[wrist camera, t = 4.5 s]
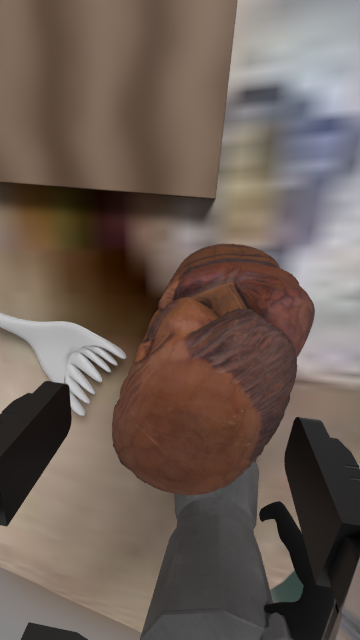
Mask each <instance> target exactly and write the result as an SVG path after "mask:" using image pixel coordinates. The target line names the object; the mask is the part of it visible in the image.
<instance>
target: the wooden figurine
mask: <svg viewBox="0 0 360 640" xmlns="http://www.w3.org/2000/svg"><path fill="white" fill-rule="evenodd" d="M158 307H159V309H158V310H157V311H156V312H155V314H154V316H153V317H152V319H151V322H150V324H149V326H148V330H147V332H146V335H145V337H144V340H143V342H142V343H141V344H140V346H139V347H138V350H137V353H136V357H135V361H134V364H133V365H132V367H131V369H130V371H129V374H128V376H127V378H126V379H125V380H124V382H123V384H122V387H121V391H120V399H119V400H118V402H117V404H116V405H115V407H114V413H113V423H112V437H113V446H114V448H115V451H116V453H117V455H118V457H119V460H120V462H121V464H123V465H124V466H125V467H127V468H128V469H129V470H131V471H132V472H133V473H134V474H135V475H136V477H137V478H138V479H140V480H142V481H143V482H145V483H148V484H149V485H151V486H153V487H155V488H157V489H160V490H162V491H166V492H171V493H175V494H179V495H200V494H207V493H210V492H213V491H216V490H218V489H220V488H223V487H226V486H228V485H230V484H231V483H232V482H233V481H235V480H236V479H237V478H238V477H239V476H241V475H242V474H243V473H244V471H245V470H246V469H248V468H249V467H251V464H252V463H253V462H255V461H256V459H257V457H258V456H259V455H260V454H261V453H262V451H263V449H264V446H265V445H266V444H267V443H268V442H269V441H270V439H271V438H272V436H273V435H274V433H275V431H276V430H277V428H278V426H279V424H280V422H281V420H282V418H283V416H284V412H285V409H286V407H287V405H288V403H289V400H290V392H291V390H292V388H293V385H294V382H295V378H296V372H297V357H298V355H299V353H300V351H301V350H302V348H303V346H304V344H305V342H306V340H307V337H308V335H309V332H310V329H311V327H312V324H313V320H314V314H315V309H314V304H313V302H312V300H311V299H310V297H309V296H308V294H307V293H306V292H305V291H304V290H303V289H302V288H301V287H300V286H299V282H298V281H297V280H296V278H295V277H294V276H293V275H292V274H290V273H289V272H287V271H284V270H282V269H280V267H279V265H278V263H277V262H276V261H275V260H274V259H273V258H272V257H271V256H269V255H267V254H266V253H264V252H263V251H261V250H258V249H255V248H252V247H249V246H244V245H236V244H217V245H213V246H208V247H205V248H202V249H200V250H198V251H196V252H194V253H192V254H191V255H189V256H188V257H187V258H186V259H185V260H184V261H183V262H182V263H181V265H180V266H179V268H178V269H177V271H176V273H175V274H174V276H173V278H172V279H171V281H170V283H169V285H168V287H167V289H166V291H165V293H164V294H163V296H162V298H161V299H160V301H159V304H158Z"/></svg>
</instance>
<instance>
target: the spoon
mask: <svg viewBox="0 0 360 640" xmlns="http://www.w3.org/2000/svg"><path fill="white" fill-rule="evenodd" d="M0 327H1V328H3V329H5V330H7V331H9V332H12V333H14V334H16V335H18V336H19V337H21V338H23V339H24V340H25V341H27V342H28V343H29V344H30V345H31V347H32V348H33V350H34V351H35V353H36V355H37V357H38V360H39V362H40V364H41V367H42V368H43V370H44V372H45V373H46V375H47V376H48V378H49V379H50V380H51V381H52V382H58V383H65V384H68V385H69V388H70V402H71V408H72V409H73V410H74V411H75V412H76V413H77V414H78V415H81V416H84V415H86V411H85V409H84V408H83V406H82V405H81V404H80V402H79V401H78V400H77V398H76V397H75V395H76V396H77V397H78V398H80V399H81V400H82V401H84V402H85V403H87V404H90V400H89V398H88V397H87V395H86V394H85V393H84V391H83V390H82V389H81V387H80V386H79V385H78V383H79V384H80V385H81V386H82V387H83V388H85V389H86V390H87V391H88V392H90V393H92V394H95V391H94V389H93V387H92V386H91V384H90V383H89V382H88V380H87V379H86V378H85V377H84V375H83V374H82V373H81V371H80V370H79V369H81V370H82V371H84V372H85V373H86V374H87V375H89V376H90V377H92V378H93V379H94V380H96V381H98V382H102V377H101V376H100V374H99V372H98V371H97V370H96V368H95V367H94V366H93V364H92V363H91V362H90V361H89V359H91V360H92V361H93V362H95V363H96V364H97V365H99V366H100V367H101V368H103V369H104V370H106V371H107V372H111V370H110V368H109V367H108V365H107V364H106V363H105V362H104V361H103V359H102V358H101V357H103V358H104V359H106V360H107V361H108V362H110V363H112V364H114V365H118V364H117V362H116V360H115V359H114V358H113V357H112V356H111V355H110V354H109V353H108V352H107V350H108V351H109V352H111V353H113V354H114V355H116V356H118V357H120V358H122V359H126V354H125V353H124V352H123V351H122V350H121V349H120V348H119V347H117V346H116V345H115V344H113V343H111V342H109V341H108V340H106V339H104V338H102V337H100V336H98V335H97V334H95V333H93V332H91V331H89V330H88V329H86V328H84V327H82V326H80V325H77V324H75V323H71V322H65V321H54V322H37V321H29V320H24V319H19V318H16V317H12V316H9V315H6V314H4V313H1V312H0ZM99 355H100V356H101V357H100V356H99ZM86 356H87V357H88V358H89V359H88V358H87V357H86Z"/></svg>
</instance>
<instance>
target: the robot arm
mask: <svg viewBox="0 0 360 640" xmlns="http://www.w3.org/2000/svg"><path fill="white" fill-rule="evenodd" d="M70 426H71V402H70V388H69V385H68V384H65V383H58V382H50V381H45V382H44V383H43V384H42V385H41V386H40V387H39V388H38V389H37V390H36V391H35V392H34V393H33V394H31V393H27V394H25V395H23V396H22V397H20V398H18V399H16V400H14V401H13V402H12V403H11V404H9V405H8V406H7V407H6V408H5V409H4V410H3V411H2V413H1V414H0V525H2V526H8V524H9V523H10V521H11V520H12V518H13V517H14V515H15V514H16V512H17V511H18V509H19V508H20V506H21V505H22V503H23V502H24V500H25V499H26V497H27V496H28V494H29V492H30V491H31V489H32V488H33V486H34V485H35V483H36V482H37V480H38V479H39V477H40V476H41V474H42V473H43V471H44V470H45V468H46V467H47V465H48V464H49V462H50V461H51V459H52V458H53V456H54V455H55V453H56V452H57V450H58V448H59V447H60V445H61V444H62V442H63V441H64V439H65V438H66V436H67V434H68V432H69V429H70ZM285 471H286V475H287V479H288V482H289V486H290V490H291V494H292V497H293V501H294V505H295V509H296V512H297V516H298V520H299V524H300V527H301V531H302V535H303V539H304V542H305V546H306V550H307V553H308V557H309V561H310V565H311V568H312V572H313V576H314V580H315V583H316V585H320V586H325V587H330V588H332V590H333V594H334V597H335V600H336V602H335V604H334V607H333V609H332V612H331V614H330V617H329V620H328V623H327V625H326V628H325V631H324V634H323V636H322V639H321V640H360V470H359V466H358V464H357V462H356V460H355V459H354V457H353V455H352V453H351V452H350V451H349V450H348V449H347V448H346V447H345V446H344V445H343V444H342V443H341V442H340V441H339V440H338V439H336V438H330V437H329V435H328V433H327V431H326V429H325V427H324V425H323V423H322V422H321V421H320V420H314V419H307V418H300V417H296V418H295V420H294V423H293V426H292V430H291V433H290V437H289V440H288V444H287V448H286V451H285ZM21 640H88V639H86V638H85V637H83V636H81V635H80V634H79V633H77V632H72V631H67V630H63V629H58V628H53V627H48V626H44V625H38V624H34V623H28V625H27V627H26V629H25V632H24V634H23V637H22V638H21Z"/></svg>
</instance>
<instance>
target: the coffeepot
mask: <svg viewBox="0 0 360 640" xmlns="http://www.w3.org/2000/svg"><path fill="white" fill-rule="evenodd" d="M258 478H259V470H258V467H257V464H256V461H255V462H253V463H252V464H251V467H249V468H248V469H246V470H245V471H244V473H243V474H242V475H241V476H239V477H238V478H237V479H236V480H235V481H233V482H232V483H231V484H230V485H228V486H226V487H223V488H220V489H218V490H216V491H213V492H210V493H207V494H200V495H179V494H175V513H176V517H177V528H176V529H175V531H174V532H173V534H172V536H171V537H170V539H169V542H168V546H167V549H166V553H165V556H164V559H163V563H162V566H161V570H160V573H159V576H158V580H157V583H156V587H155V590H154V593H153V597H152V600H151V604H150V607H149V610H148V614H147V617H146V621H145V624H144V627H143V631H142V634H141V638H140V640H321V639H322V636H323V634H324V631H325V628H326V625H327V623H328V620H329V617H330V614H331V612H332V609H333V607H334V598H335V597H334V594H333V590H332V588H330V587H325V586H320V585H316V583H315V580H314V576H313V572H312V568H311V565H310V561H309V557H308V553H307V550H306V546H305V542H304V539H303V535H302V533H301V531H300V530H299V528H298V527H297V525H296V523H295V521H294V520H293V518H292V516H291V515H290V513H289V512H288V510H287V509H286V507H285V505H284V504H283V503H281V502H279V501H278V502H274V503H271V504H269V505H267V506H265V507H264V508H262V509H261V511H260V514H259V516H260V520H261V521H262V522H263V521H265V520H268V519H275V520H276V523H277V528H278V533H279V537H280V539H281V541H282V542H283V543H284V545H285V546H286V547H287V549H288V551H289V553H290V557H291V560H292V563H293V566H294V569H295V572H296V574H297V576H298V577H299V579H300V580H301V582H302V583H303V585H304V588H303V593H302V595H301V598H300V599H299V600H298V601H296V602H279V603H273V601H272V597H271V593H270V589H269V585H268V581H267V577H266V573H265V569H264V565H263V561H262V557H261V553H260V550H259V547H258V544H257V542H256V539H255V536H254V531H253V529H254V528H255V526H256V517H257V498H258Z"/></svg>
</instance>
